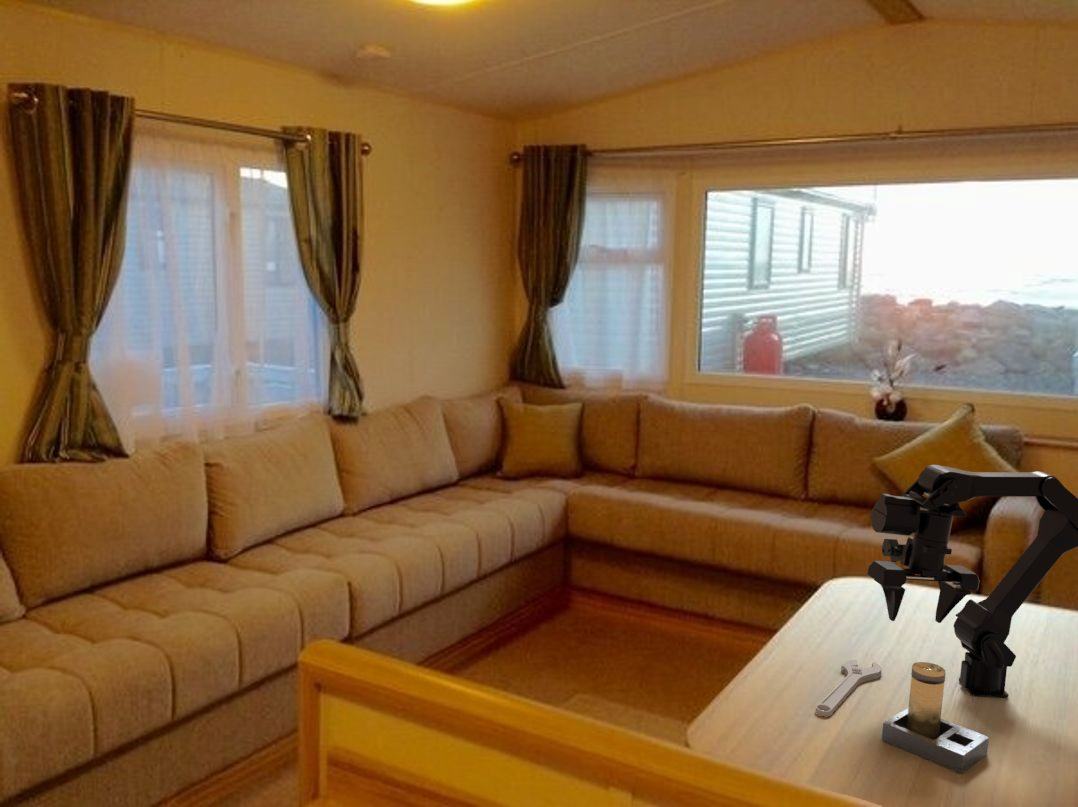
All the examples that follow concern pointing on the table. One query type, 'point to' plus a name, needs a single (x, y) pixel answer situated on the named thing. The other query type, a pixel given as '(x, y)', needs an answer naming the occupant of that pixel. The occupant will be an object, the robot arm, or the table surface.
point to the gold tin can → (926, 699)
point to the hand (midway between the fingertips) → (914, 621)
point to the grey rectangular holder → (938, 743)
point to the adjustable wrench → (847, 685)
